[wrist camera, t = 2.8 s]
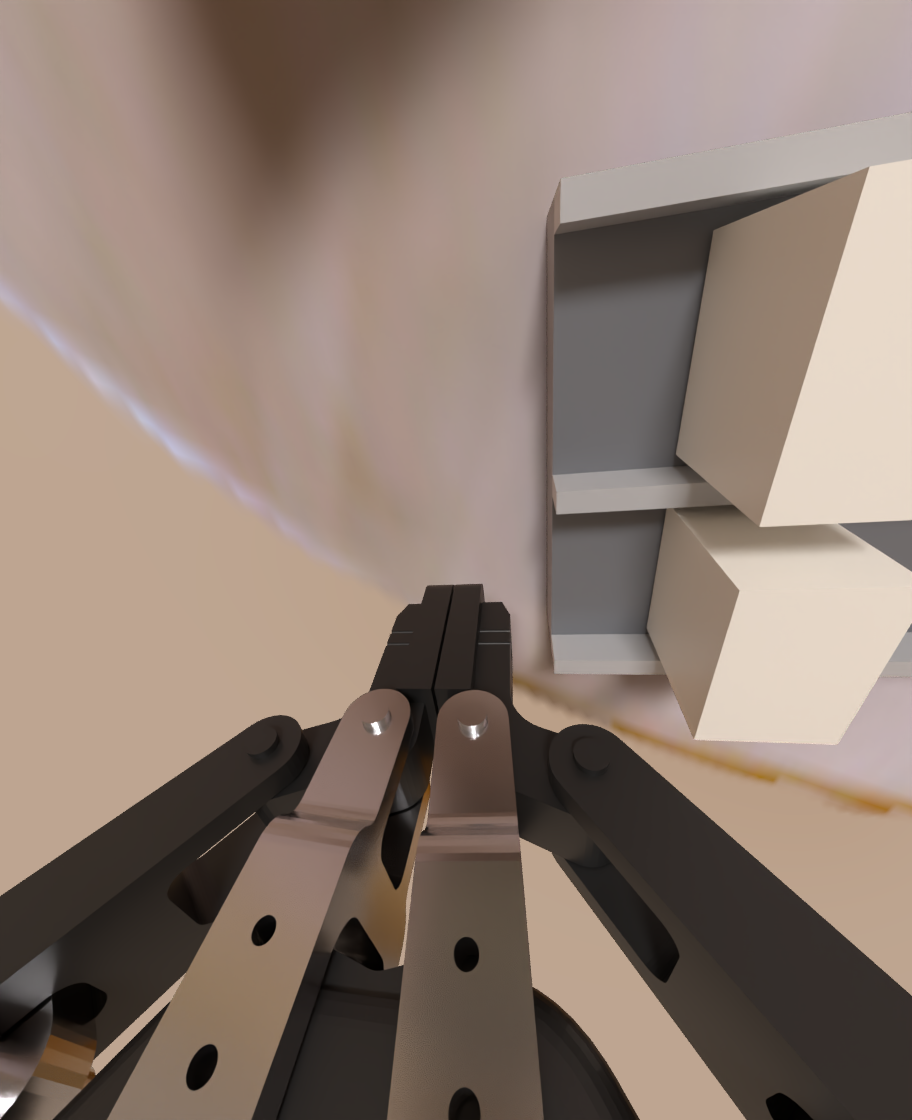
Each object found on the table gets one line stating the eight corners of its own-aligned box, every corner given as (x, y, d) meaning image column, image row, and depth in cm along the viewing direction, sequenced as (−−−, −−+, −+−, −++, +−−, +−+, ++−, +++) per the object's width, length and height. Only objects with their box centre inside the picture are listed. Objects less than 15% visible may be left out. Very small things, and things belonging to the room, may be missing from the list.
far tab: (793, 495, 10) (934, 586, 7) (748, 627, 12) (837, 744, 9) (667, 502, 11) (740, 591, 7) (646, 627, 13) (693, 739, 10)
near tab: (893, 201, 7) (1228, 104, 4) (811, 443, 9) (976, 516, 6) (713, 229, 8) (870, 165, 4) (675, 454, 10) (760, 526, 7)
